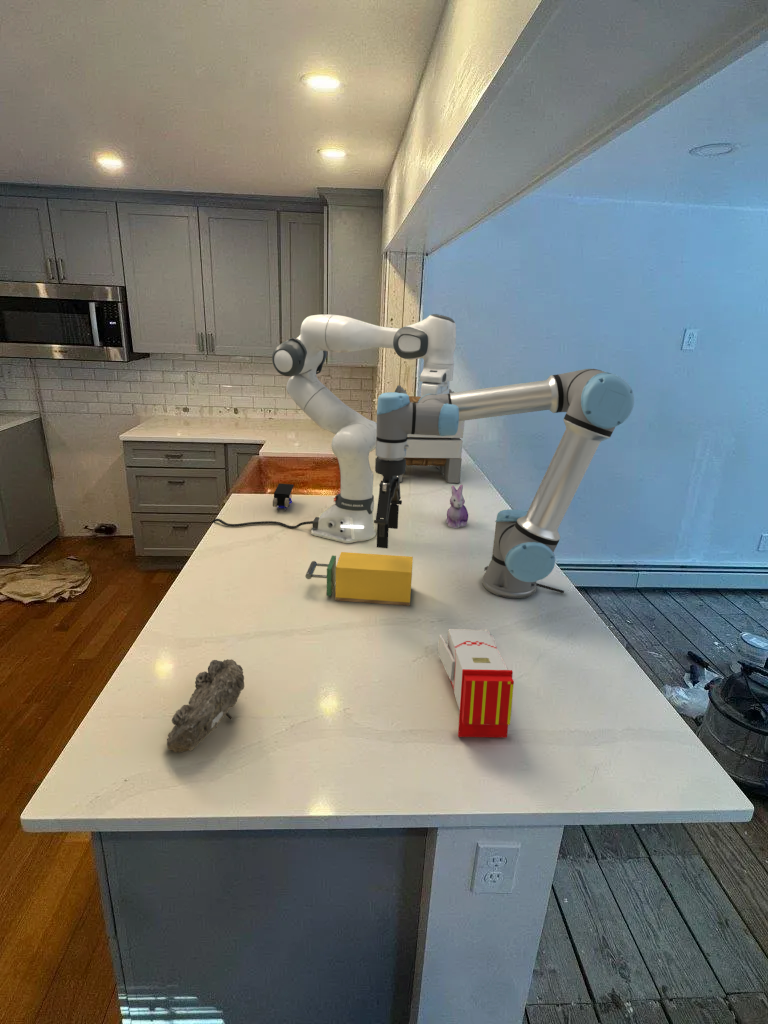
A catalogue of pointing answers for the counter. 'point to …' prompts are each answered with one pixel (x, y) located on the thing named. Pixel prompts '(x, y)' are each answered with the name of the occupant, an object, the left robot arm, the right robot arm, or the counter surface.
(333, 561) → the drawer
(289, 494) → the figurine character
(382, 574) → the cabinet
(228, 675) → the fossil
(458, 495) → the figurine
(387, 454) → the right robot arm
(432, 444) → the transformer
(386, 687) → the counter surface
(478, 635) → the toy
